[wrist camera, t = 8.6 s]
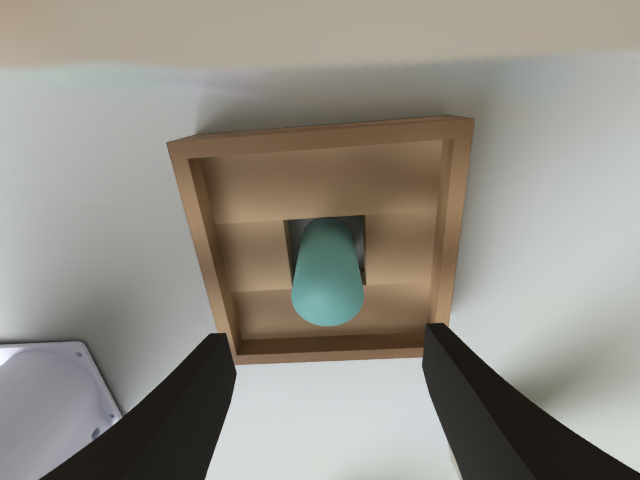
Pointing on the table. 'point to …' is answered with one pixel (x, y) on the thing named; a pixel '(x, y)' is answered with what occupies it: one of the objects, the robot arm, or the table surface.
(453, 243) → the crate
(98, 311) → the table surface
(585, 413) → the table surface
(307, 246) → the peg
